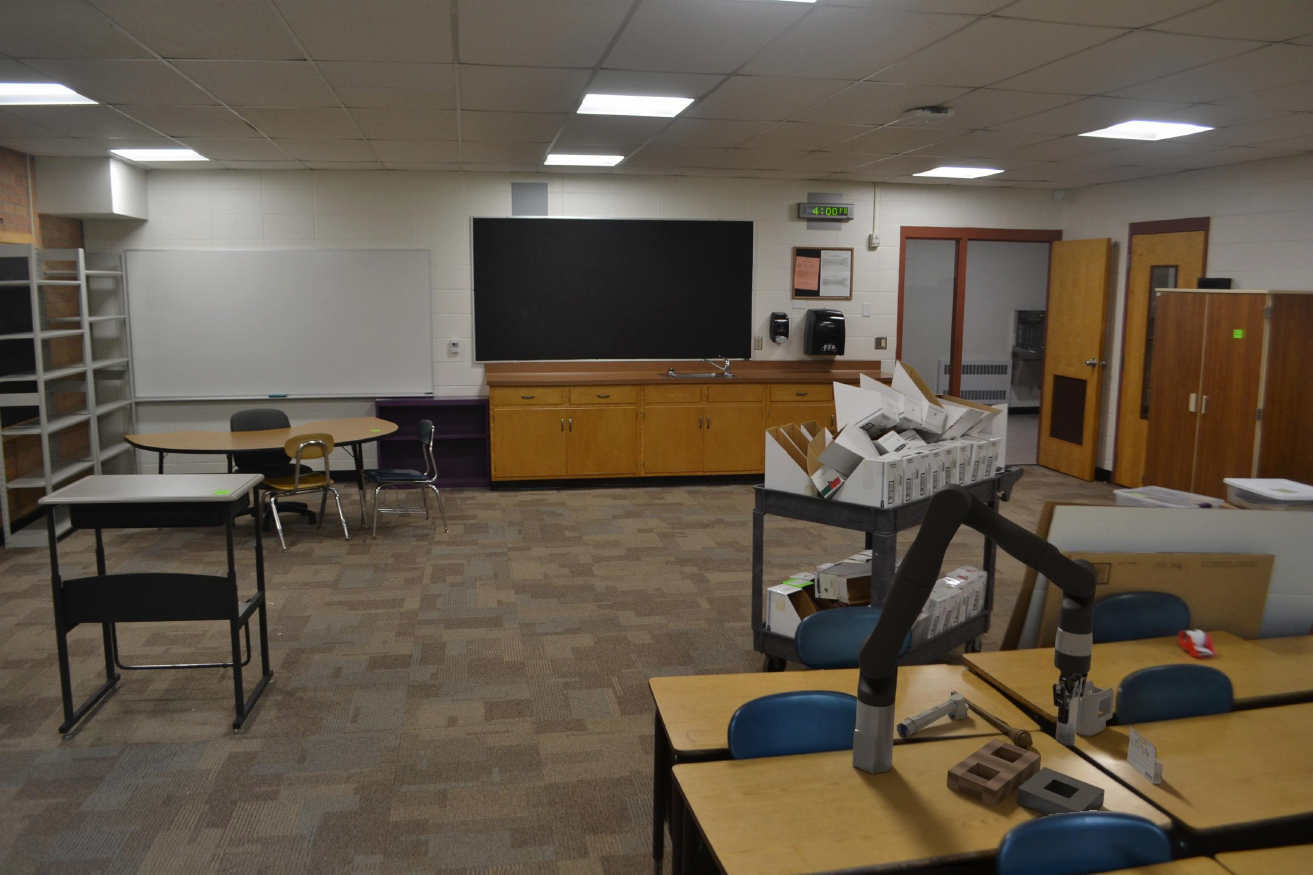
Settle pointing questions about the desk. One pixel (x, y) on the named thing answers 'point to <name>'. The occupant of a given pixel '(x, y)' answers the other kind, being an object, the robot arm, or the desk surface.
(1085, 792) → the socket block
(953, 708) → the grey piece
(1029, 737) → the brown knobbed rod
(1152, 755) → the ink cartridge box
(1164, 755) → the desk surface
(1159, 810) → the desk surface
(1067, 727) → the grey tall bar
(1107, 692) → the cable organizer
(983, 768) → the rack
